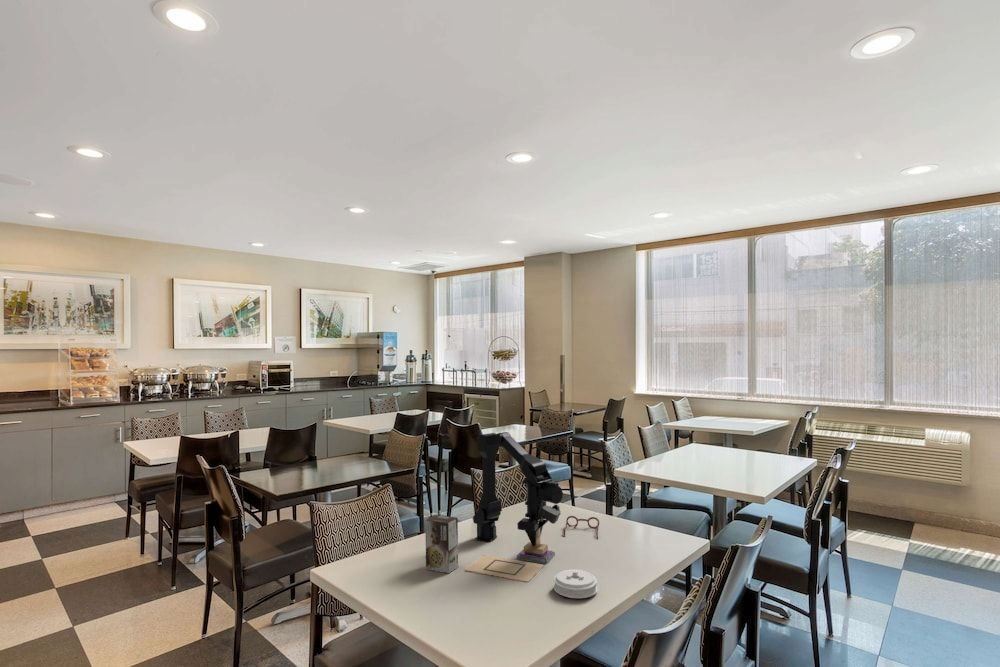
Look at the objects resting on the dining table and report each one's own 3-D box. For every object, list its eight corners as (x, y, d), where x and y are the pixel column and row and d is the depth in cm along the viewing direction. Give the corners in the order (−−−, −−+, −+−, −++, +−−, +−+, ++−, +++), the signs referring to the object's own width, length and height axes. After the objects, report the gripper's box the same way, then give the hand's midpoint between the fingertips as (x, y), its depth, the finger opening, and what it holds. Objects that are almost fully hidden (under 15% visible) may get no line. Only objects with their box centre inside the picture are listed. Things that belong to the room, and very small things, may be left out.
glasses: (599, 529, 213) (599, 516, 213) (598, 540, 200) (598, 527, 201) (566, 527, 216) (566, 514, 216) (563, 538, 203) (563, 524, 203)
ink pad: (516, 558, 182) (516, 554, 182) (525, 550, 189) (525, 546, 189) (547, 563, 177) (547, 558, 177) (554, 555, 185) (554, 550, 185)
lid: (583, 579, 165) (583, 563, 165) (605, 597, 153) (605, 579, 153) (546, 586, 160) (546, 569, 161) (566, 604, 149) (566, 586, 149)
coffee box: (458, 566, 175) (458, 517, 176) (449, 574, 170) (448, 522, 170) (435, 562, 179) (435, 514, 180) (424, 569, 173) (424, 519, 174)
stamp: (523, 553, 183) (523, 529, 183) (528, 548, 187) (528, 524, 187) (542, 556, 180) (542, 531, 180) (547, 551, 184) (547, 527, 184)
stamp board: (464, 570, 172) (464, 569, 172) (484, 555, 185) (484, 554, 185) (528, 582, 163) (528, 580, 163) (543, 565, 176) (543, 564, 176)
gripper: (548, 507, 172) (548, 556, 172) (565, 493, 189) (566, 538, 189) (516, 504, 177) (517, 551, 176) (536, 490, 194) (536, 534, 193)
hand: (535, 543), depth 183 cm, fingers closed on stamp, 3 cm apart
